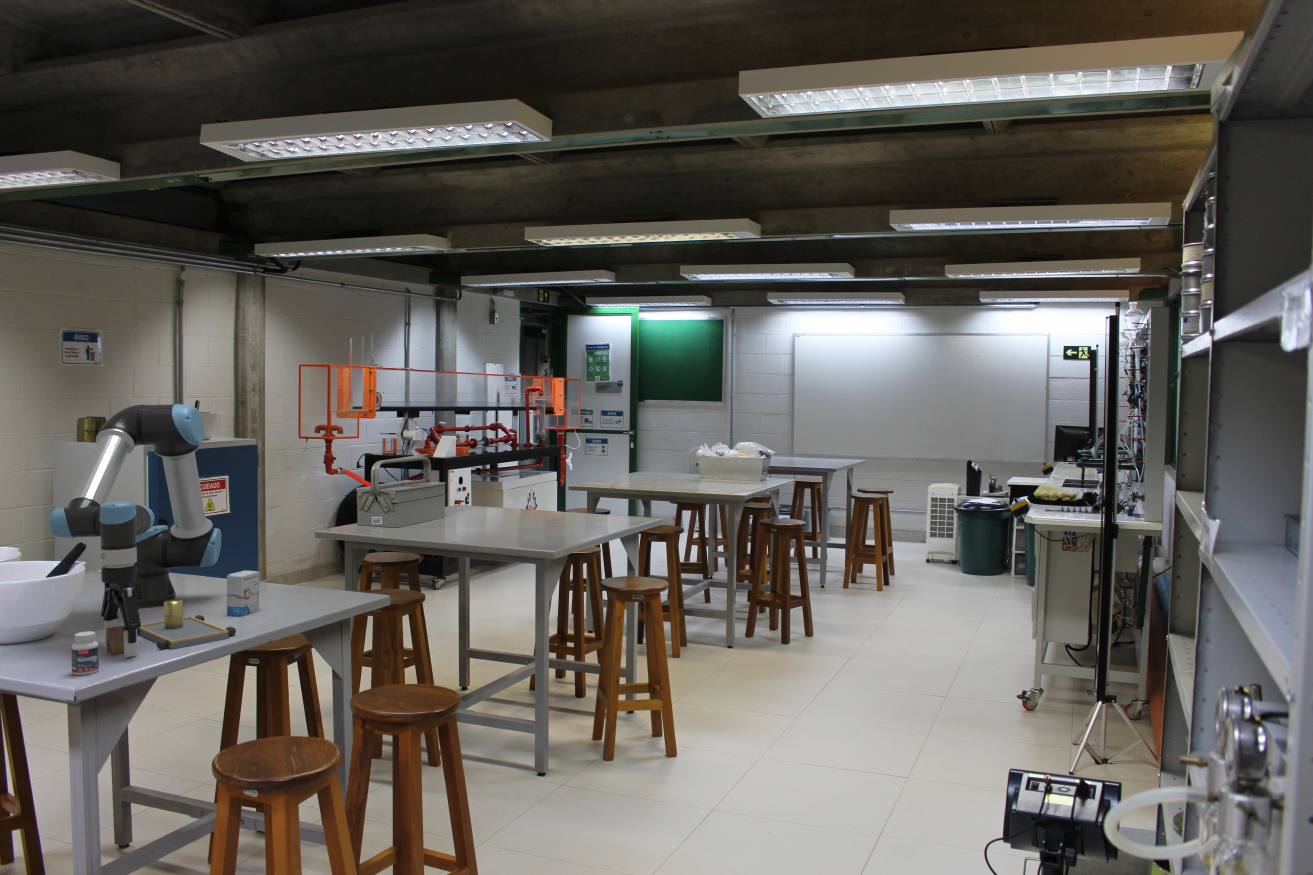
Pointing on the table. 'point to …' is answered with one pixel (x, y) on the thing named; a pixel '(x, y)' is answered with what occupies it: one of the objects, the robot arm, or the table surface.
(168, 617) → the cylinder
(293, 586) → the table surface
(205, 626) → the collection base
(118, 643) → the walnut block
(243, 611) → the ink box
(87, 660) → the pill bottle
